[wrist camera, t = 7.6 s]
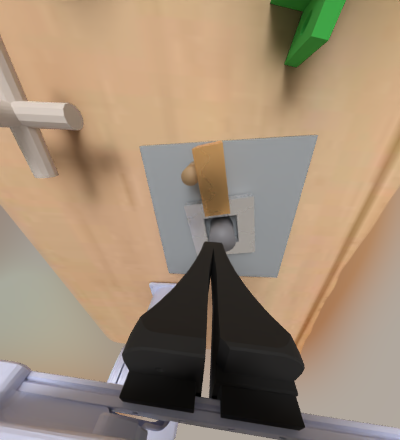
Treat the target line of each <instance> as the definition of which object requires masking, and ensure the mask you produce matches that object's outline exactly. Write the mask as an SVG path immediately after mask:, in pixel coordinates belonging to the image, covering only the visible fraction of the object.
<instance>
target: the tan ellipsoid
mask: <svg viewBox="0 0 400 440" xmlns="http://www.w3.org/2000/svg"><path fill="white" fill-rule="evenodd" d="M181 179H182V181H183V183H184V184H186V185H188V186H193V185H195V184H196V183H197V182H198V179H197V174H196V169H195V164H194V161H193V162H191V163H190V164H189V165H188V166H187V167H186V168H185V169H184V170H183V172H182V174H181Z"/></svg>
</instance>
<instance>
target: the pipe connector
mask: <svg viewBox="0 0 400 440" xmlns="http://www.w3.org/2000/svg"><path fill="white" fill-rule="evenodd" d="M83 125H84V124H83V117H82V115H81V113H80V111H79V110H78V109H77V108H76V107H75V106H74V105H72V104H70V103H56V102H34V101H28V100H27V98H26V95H25V93H24V90H23V88H22V86H21V83H20V81H19V78H18V76H17V74H16V71H15V69H14V67H13V64H12V62H11V59H10V57H9V55H8V52H7V50H6V47H5V45H4V43H3V40H2V38H1V36H0V127H10V129H11V131H12V133H13V135H14V137H15V139H16V141H17V143H18V145H19V147H20V149H21V151H22V153H23V155H24V157H25V159H26V161H27V163H28V165H29V167H30V169H31V171H32V173H33V175H34V177H36V178H49V177H55V176H58V175H59V174H58V171H57V169H56V167H55V164H54V162H53V160H52V157H51V155H50V152H49V150H48V148H47V145H46V143H45V140H44V138H43V136H42V133H41V131H40V129H63V130H80V129H82V127H83Z"/></svg>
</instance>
